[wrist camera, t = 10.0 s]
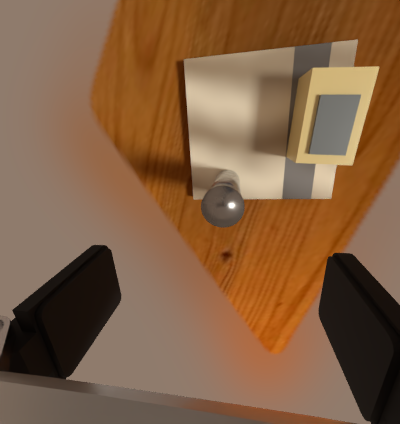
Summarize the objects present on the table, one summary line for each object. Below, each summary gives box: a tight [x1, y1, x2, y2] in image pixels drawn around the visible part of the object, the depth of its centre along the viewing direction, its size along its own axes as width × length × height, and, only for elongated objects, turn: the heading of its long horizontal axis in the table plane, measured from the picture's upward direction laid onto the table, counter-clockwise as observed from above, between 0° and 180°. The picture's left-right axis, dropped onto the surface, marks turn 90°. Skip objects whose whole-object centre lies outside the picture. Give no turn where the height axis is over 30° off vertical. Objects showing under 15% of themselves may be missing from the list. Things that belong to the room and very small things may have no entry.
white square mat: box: [184, 40, 358, 199], centre depth 22 cm, size 14×15×1 cm
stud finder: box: [286, 67, 379, 165], centre depth 19 cm, size 7×4×4 cm, turn 178°
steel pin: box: [201, 170, 244, 227], centre depth 20 cm, size 3×3×9 cm
